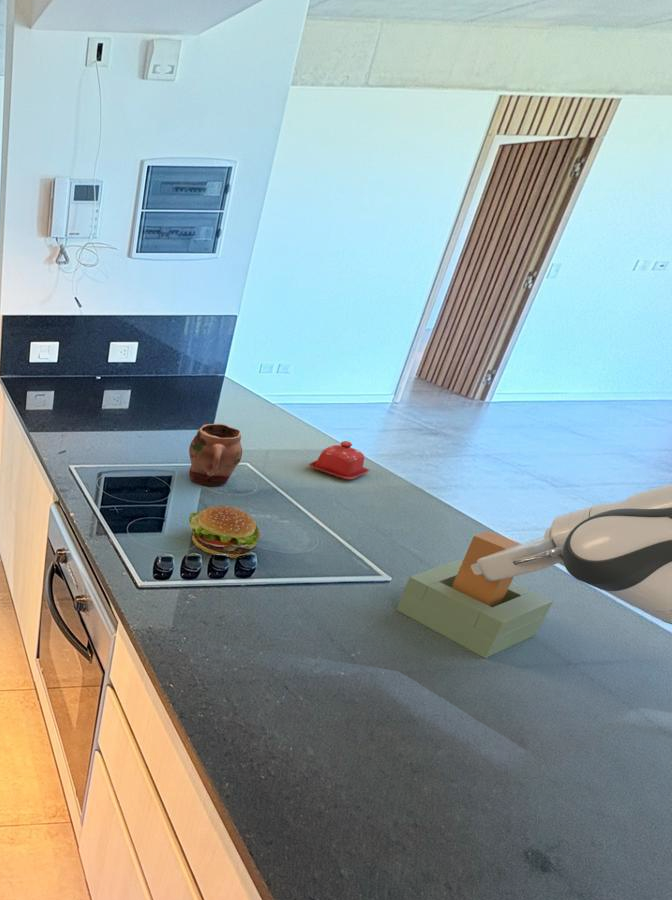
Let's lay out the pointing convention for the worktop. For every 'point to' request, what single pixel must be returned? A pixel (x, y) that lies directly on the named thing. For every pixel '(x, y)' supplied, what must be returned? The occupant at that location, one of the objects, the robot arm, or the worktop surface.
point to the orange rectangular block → (478, 584)
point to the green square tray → (472, 611)
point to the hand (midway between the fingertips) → (484, 565)
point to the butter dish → (341, 461)
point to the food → (224, 531)
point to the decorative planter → (214, 454)
